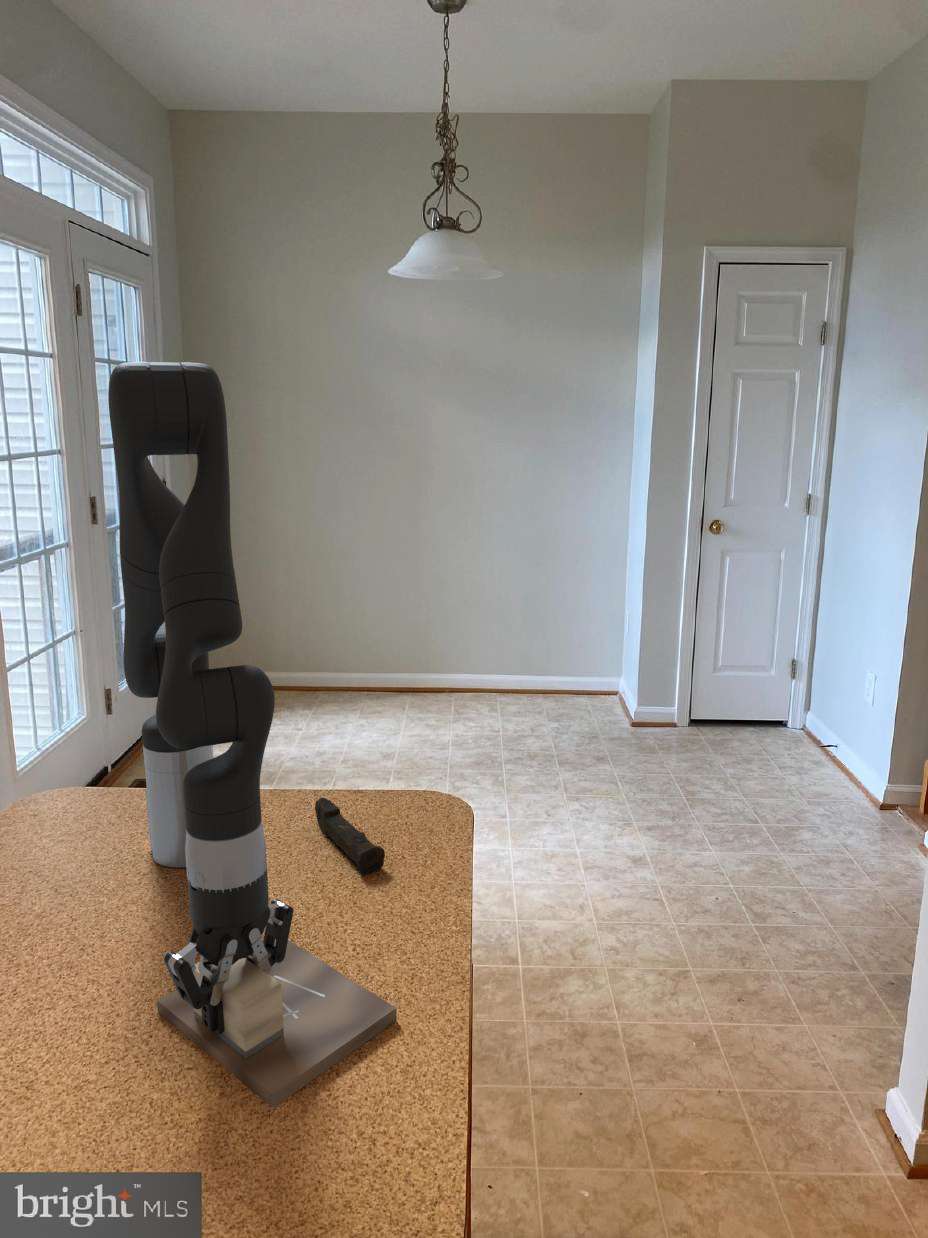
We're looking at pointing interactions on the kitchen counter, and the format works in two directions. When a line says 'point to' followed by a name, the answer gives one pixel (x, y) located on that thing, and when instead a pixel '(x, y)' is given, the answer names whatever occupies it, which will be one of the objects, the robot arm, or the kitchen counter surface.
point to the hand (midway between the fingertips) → (237, 1016)
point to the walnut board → (294, 1027)
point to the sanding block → (249, 1008)
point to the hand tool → (349, 837)
